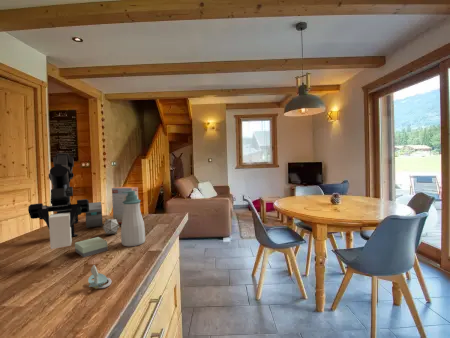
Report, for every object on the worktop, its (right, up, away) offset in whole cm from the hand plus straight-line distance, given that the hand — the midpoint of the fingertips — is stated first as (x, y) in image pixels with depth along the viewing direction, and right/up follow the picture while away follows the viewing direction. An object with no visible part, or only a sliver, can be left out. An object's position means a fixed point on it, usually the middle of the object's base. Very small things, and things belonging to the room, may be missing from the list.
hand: (60, 227), depth 89 cm
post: (-1, -7, +1) cm, 7 cm away
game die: (+3, -11, +33) cm, 35 cm away
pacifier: (+23, -13, -17) cm, 31 cm away
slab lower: (+5, -13, +11) cm, 18 cm away
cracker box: (+2, -11, +55) cm, 56 cm away
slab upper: (+5, -11, +11) cm, 16 cm away
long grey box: (-16, -11, +54) cm, 57 cm away
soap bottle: (+19, -12, +19) cm, 30 cm away
